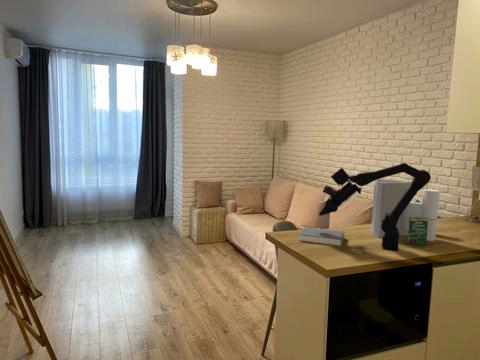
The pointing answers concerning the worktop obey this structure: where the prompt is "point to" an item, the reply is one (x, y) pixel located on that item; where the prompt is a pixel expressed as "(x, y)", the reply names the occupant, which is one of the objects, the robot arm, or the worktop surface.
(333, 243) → the book
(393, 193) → the tall white carton
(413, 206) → the skincare box
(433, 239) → the cylindrical container
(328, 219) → the pink cylinder
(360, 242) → the worktop surface
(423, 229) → the coffee box
